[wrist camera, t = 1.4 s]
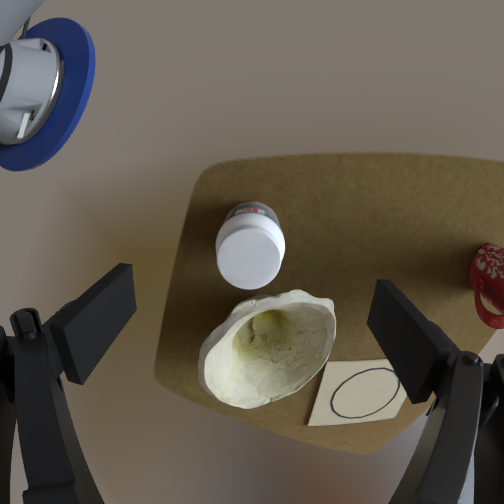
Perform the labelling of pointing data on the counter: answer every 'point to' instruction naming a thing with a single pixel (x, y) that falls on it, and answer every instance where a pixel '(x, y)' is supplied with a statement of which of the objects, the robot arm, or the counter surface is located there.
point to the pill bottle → (250, 246)
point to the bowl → (267, 348)
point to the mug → (489, 283)
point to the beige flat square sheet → (357, 393)
